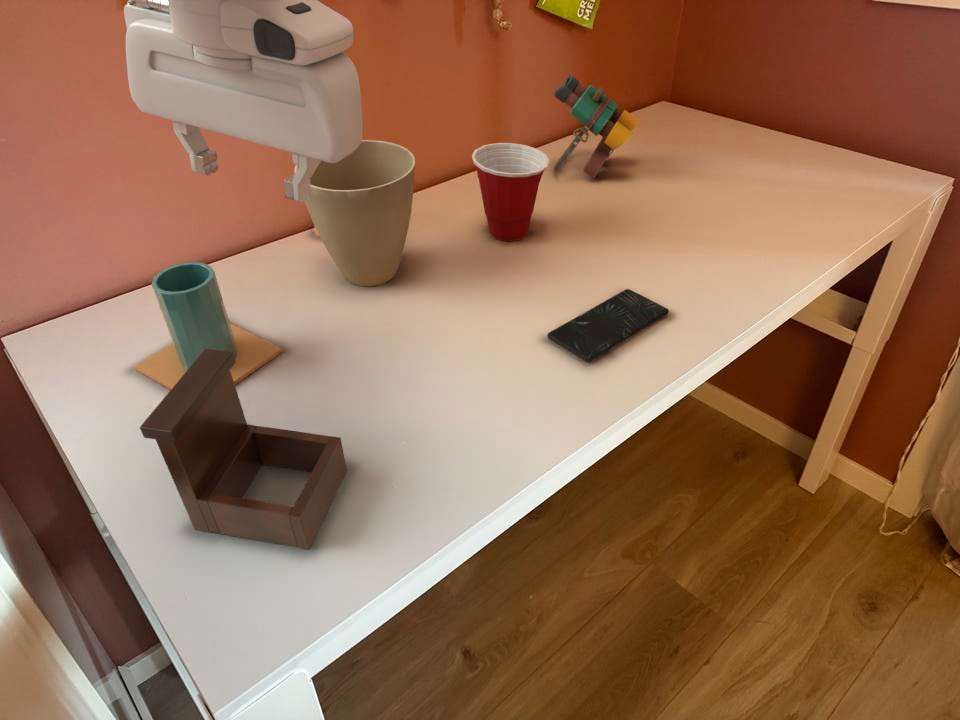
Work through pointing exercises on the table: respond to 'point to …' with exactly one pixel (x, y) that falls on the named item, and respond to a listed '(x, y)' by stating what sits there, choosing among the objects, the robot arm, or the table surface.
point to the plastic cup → (509, 186)
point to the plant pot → (364, 209)
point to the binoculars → (595, 122)
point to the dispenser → (239, 459)
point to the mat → (248, 359)
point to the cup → (193, 310)
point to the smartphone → (607, 325)
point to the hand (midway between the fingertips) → (251, 184)
